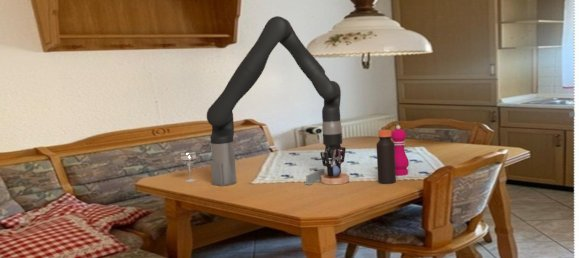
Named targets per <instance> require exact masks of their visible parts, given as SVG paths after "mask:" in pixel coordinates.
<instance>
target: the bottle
mask: <svg viewBox="0 0 579 258" xmlns="http://www.w3.org/2000/svg"><path fill="white" fill-rule="evenodd" d="M377 132H378V133H377V135H378V138H379V140H378V141H377V143H376V161H377V162H376V165H377V167H376V168H377V182H378V184H383V185H390V184H394V183H396V182H397V175H396V171H395V147H394V142H393V139H392V138H391V136H392V135H391V133H392V130H390V129H381V130H378V131H377Z"/></svg>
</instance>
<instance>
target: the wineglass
mask: <svg viewBox="0 0 579 258" xmlns="http://www.w3.org/2000/svg"><path fill="white" fill-rule="evenodd" d="M180 161H181V163H182V164H184V165H186V166H187V167H188V174H189V179H186V180H184V182H186V183H190V182H196V181H197V179H196V178H195V179H194V178H192V177H191V176H192V175H191V174H192V173H191V166H192V165H194V164H195V163H196V161H197V155H196V151H186V152H181V153H180Z"/></svg>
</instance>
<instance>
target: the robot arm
mask: <svg viewBox="0 0 579 258" xmlns="http://www.w3.org/2000/svg"><path fill="white" fill-rule="evenodd" d="M279 43H280V45H282V46H283V47H284V48H285V49H286V50H287V51H288V52H289V54H290V55H291V57H292V58H293V60H294V61H295V63H296V65H297V66H298V68H299V69H300V70H301V71H302V73H303V74H304V75H305V77H306V78H307V79H308V80H309V81H310V82H311V84H312V86H313V87H314V89H315V91H316V92H317V94H318V96H320V97H321V98H322V99H323V107H322V110H321V118H322V119H321V120H322V124H321V127H322V132H321V133H322V144H323V145H324V146H325V148H324V150H323V151H320V153H319V154H320V155H319V156H320V158H321V161H322V162H321V163H322V166H324V167H326V171H327V172H326V174H328V176H331V177H332V176H333V165H336V166H338V167H339V169H340V173H339V174H341V173H342V168H341V165H342V163H344V162H345V157H346V155H345V154H346V147H343V146H341V144H343V134H342V133H343V132H342V131H343V130H342V121H341V111H340V108H341V100H342V99H341V97H342V94H341V93H342V92H341V86H340V84H339V83H338V82H336V81H334V80H331V79H330V78H329V76H327V74H326V71H325V69H324V67H323V66H322V65H321V64H320V63H319V61H318V60H317V59H316V58H315V56H313V54H312V53H311V52H310V51H309V49H307V48H306V46H305V45H304V44H303V42H302V41H301V40H300V38H299V36H298V35H297V33H296V32H295V30H294V28H293V26H292V25H291V23H290V21H289V20H287V18H284V17H282V16H273V17H271V18H269V19H268V20H267V22H266V23H265V25H264V27H263V29H262V31H261V32H260V35H259V37H258V38H257V40H256V42H255V43H254V44H253V45H252V47H251V48H250V50H249V51H248V52H247V53H246V55H245V57H244V58H243V60H242V61H241V62H240V64H239V65H238V66H237V68H236V69H235V71H234V73H233V74H232V76H231V78H230V79H229V81H228V82H227V84H226V86H225V87H224V89H223V90H222V92H221V94H220V95H219V96H218V97H217V99H216V100H214V102H213V103H212V104H211V106H210V107H208V109H207V112H206V119H207V120H206V121H207V122H208V124H209V125H210V126H211V134H210V147H211V150H210V151H211V159H212V161H211V162H210V170H211V171H210V172H211V184H212V185H214V186H220V187H223V186H231V185H235V184H236V183H237V172H236V171H237V170H236V160H235V159H236V158H235V157H236V155H235V145H234V135H235V125H234V124H235V123H234V113H233V111H234V109H235V107H236V105H237V104H238V102H240V100H241V99H242V98H244V96H245V95H246V94H247V93H248V92H249V91H250V90H251V89H252V87H254V85H255V84H256V83H257V81H258V80H259V78H260V77H261V75H262V74H263V72H264V70H265V69H266V64H267V63H268V60H269V58H270V55H271V53H272V52H273V50H274V49H275V48H276V46H278V44H279ZM334 163H335V164H334Z"/></svg>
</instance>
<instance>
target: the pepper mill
mask: <svg viewBox="0 0 579 258" xmlns="http://www.w3.org/2000/svg"><path fill="white" fill-rule="evenodd" d="M401 128H402V127H401V126H400V125H399V124H398V125H396V126H395V129H394V130H391V135H392V136H391V140H392V141H393V142H394V147H395V171H396V176H407V175H408V174H409V169H408V167H409V164H410V163H409V159H408V157H407V155H406V151H405V145H406V138H407V132H406V131H405V130H404V129H401Z"/></svg>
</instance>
